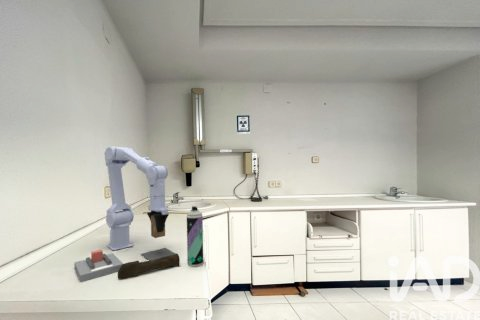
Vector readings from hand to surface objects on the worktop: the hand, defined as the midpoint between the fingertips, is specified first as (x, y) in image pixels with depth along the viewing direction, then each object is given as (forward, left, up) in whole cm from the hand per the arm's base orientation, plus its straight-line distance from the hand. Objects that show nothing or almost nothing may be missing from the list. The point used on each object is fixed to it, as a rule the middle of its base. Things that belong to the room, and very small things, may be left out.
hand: (158, 230), depth 92 cm
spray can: (+18, +6, -10) cm, 21 cm away
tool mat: (0, 0, -9) cm, 9 cm away
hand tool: (+13, -8, -10) cm, 18 cm away
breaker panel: (-2, -20, -9) cm, 22 cm away
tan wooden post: (0, 0, -2) cm, 2 cm away
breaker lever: (-4, -20, -7) cm, 22 cm away
